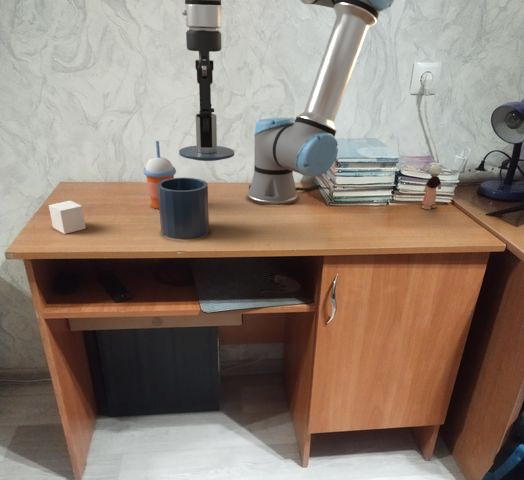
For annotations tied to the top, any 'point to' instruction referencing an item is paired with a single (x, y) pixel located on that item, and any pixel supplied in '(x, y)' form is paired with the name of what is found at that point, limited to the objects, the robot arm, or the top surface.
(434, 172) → the grandmother figurine
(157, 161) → the cup with straw
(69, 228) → the white cube
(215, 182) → the top surface
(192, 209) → the tin
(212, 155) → the tin lid
